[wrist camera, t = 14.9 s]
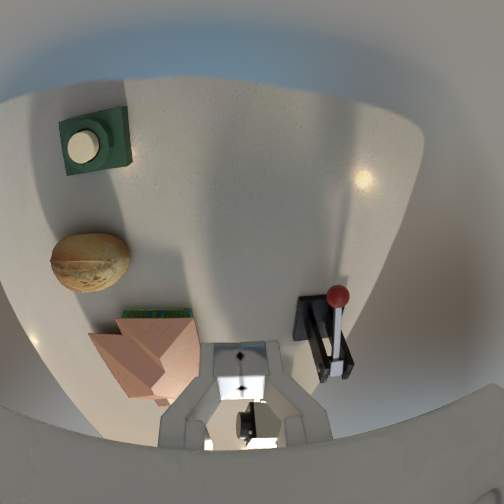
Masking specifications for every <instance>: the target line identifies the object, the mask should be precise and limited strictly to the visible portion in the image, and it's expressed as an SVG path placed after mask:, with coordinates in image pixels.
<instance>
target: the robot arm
mask: <svg viewBox="0 0 504 504" xmlns="http://www.w3.org/2000/svg"><path fill="white" fill-rule="evenodd" d="M256 398H263V399H264V401H265V402H266V403H267V404H268V406H269V407H270V408H271V409H272V411H273V412H274V413H275V414H276V415H277V417H278V418H279V419H280V420H281V422H282V426H281V430H280V433H279V436H278V440H277V442H278V448H268V449H254V450H212V441H211V439H210V436H209V433H208V431H207V428H206V424H207V422H208V421H209V419H210V418H211V416H212V415H213V413H214V412H215V410H216V409H217V407H218V406H219V404H220V402H221V400H230V399H256ZM0 504H504V389H503V388H502V387H500V386H498V385H496V384H489V385H486V386H485V387H483V388H481V389H479V390H477V391H475V392H473V393H471V394H469V395H467V396H465V397H463V398H461V399H459V400H456V401H454V402H452V403H449V404H447V405H445V406H442V407H440V408H438V409H435V410H433V411H430V412H428V413H425V414H422V415H420V416H417V417H414V418H411V419H408V420H405V421H402V422H399V423H396V424H394V425H390V426H387V427H383V428H380V429H376V430H372V431H369V432H365V433H361V434H357V435H353V436H348V437H343V438H339V439H334V440H333V437H332V432H331V428H330V424H329V420H328V416H327V411H326V410H325V409H324V408H323V407H322V406H321V405H320V404H319V403H318V402H317V401H316V400H315V399H313V398H312V397H311V396H310V395H309V394H308V393H307V392H306V391H305V390H304V389H303V388H302V387H301V386H300V385H299V384H298V383H297V382H296V381H295V380H294V379H293V378H292V377H291V376H290V375H289V374H284V371H283V365H282V359H281V354H280V348H279V342H278V341H277V340H272V341H252V342H239V343H201V346H200V361H199V376H198V377H195V378H194V379H193V380H192V381H191V382H190V383H189V385H188V386H187V387H186V388H185V389H184V391H183V392H182V393H181V394H180V395H179V396H178V398H177V399H176V400H175V401H174V402H173V403H172V405H171V406H170V407H169V408H168V409H167V410H166V411H165V413H164V414H163V415H162V416H161V420H160V429H159V438H158V447H152V446H144V445H137V444H130V443H124V442H119V441H113V440H108V439H103V438H99V437H94V436H90V435H86V434H82V433H78V432H74V431H71V430H67V429H64V428H60V427H57V426H54V425H50V424H48V423H45V422H42V421H39V420H36V419H33V418H31V417H28V416H26V415H23V414H21V413H18V412H15V411H13V410H11V409H9V408H6V407H4V406H2V405H0Z"/></svg>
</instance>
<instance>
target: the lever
mask: <svg viewBox="0 0 504 504" xmlns="http://www.w3.org/2000/svg"><path fill="white" fill-rule="evenodd" d="M327 301H328V303H329V304H330V305H331V306H332V307H334V309H333V334H332V352H331V356H328V360H329V363H330V366H331V370H330V373H329V376H330V377H333V376H339V375H342V372H343V359H342V358H341V357H340V356H339V353H340V338H341V319H342V307H344V306H345V305H346V304H347V303H348V301H349V291H348V290H347V288H346V287H344V286H342V285H334V286H332V287H331V288H330V289H329V290H328V292H327Z"/></svg>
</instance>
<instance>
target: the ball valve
mask: <svg viewBox="0 0 504 504" xmlns="http://www.w3.org/2000/svg"><path fill="white" fill-rule="evenodd" d="M253 400H254V402H249V404H248V407H247V409H246V411H245V412H238V414H237V420H236V433H237V437H238V439H244V442H246V447H247V448H271V447H276V448H278V442H277V440H278V436H279V433H280V430H281V426H282V422H281V420H280V419H279V418H278V417H277V415H276V414H275V413H274V412H273V411H272V409H271V408H270V407H269V406H268V404H267V403H266V402H265V401H264V399H263V398H256V399H253Z"/></svg>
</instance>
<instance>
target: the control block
mask: <svg viewBox="0 0 504 504" xmlns="http://www.w3.org/2000/svg"><path fill="white" fill-rule="evenodd" d="M59 129H60V137H61V144H62V151H63V157H64V162H65V168H66V173H67V176H69V175H75V174H80V173H86V172H92V171H98V170H104V169H111V168H118V167H125V166H128V165H130V164H131V163H132V162H133V160H132V152H131V144H130V134H129V124H128V111H127V106H124V107H119V108H114V109H109V110H104V111H100V112H95V113H91V114H87V115H83V116H79V117H76V118H72V119H68V120H65V121H61V122H59ZM84 130H89V131H92V132H93V133H95V134H96V136H97V137H98V140H99V150H98V152H97V154H96V155H95V157H93V158H92V159H90V160H89V161H87V162H85V163H77V162H75V161H73V160H72V159H71V157H70V156H69V153H68V143H69V140H70V139H71V137H72V136H73V135H74V134H76V133H78V132H81V131H84Z"/></svg>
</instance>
